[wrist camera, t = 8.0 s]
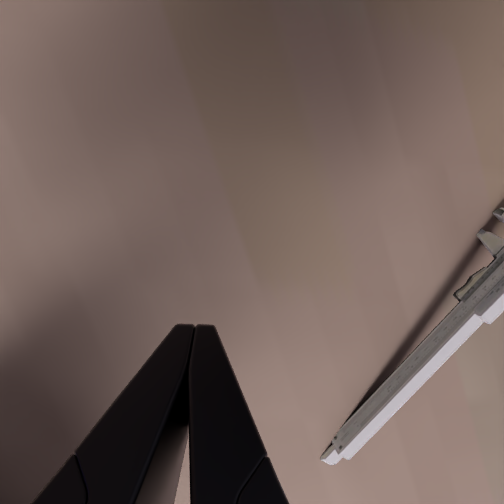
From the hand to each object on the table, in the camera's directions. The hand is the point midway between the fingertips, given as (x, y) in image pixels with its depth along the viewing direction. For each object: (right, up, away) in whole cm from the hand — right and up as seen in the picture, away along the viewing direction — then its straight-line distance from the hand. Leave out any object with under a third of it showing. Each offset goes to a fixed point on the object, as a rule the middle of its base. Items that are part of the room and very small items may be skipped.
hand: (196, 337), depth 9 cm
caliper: (+12, -4, +18) cm, 22 cm away
